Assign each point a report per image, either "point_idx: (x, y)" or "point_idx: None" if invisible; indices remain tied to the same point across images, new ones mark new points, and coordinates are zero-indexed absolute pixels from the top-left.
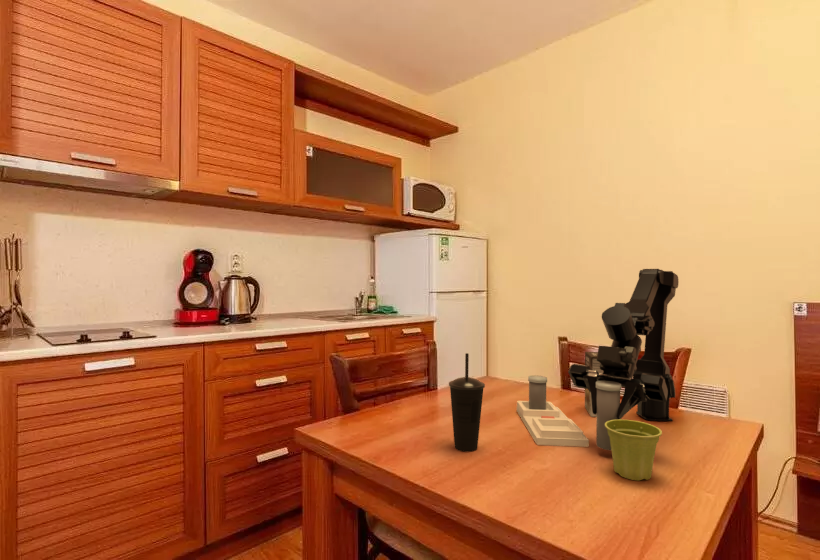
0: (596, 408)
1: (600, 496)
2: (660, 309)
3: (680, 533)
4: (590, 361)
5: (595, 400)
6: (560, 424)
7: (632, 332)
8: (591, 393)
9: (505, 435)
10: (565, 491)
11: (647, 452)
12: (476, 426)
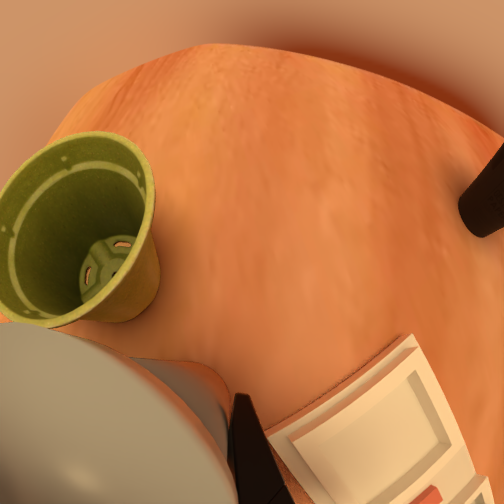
0: (229, 431)
1: (185, 134)
2: None
3: (88, 110)
4: None
5: (239, 454)
6: (383, 495)
7: None
8: (289, 502)
9: (472, 344)
10: (246, 122)
11: (55, 202)
12: (487, 176)
